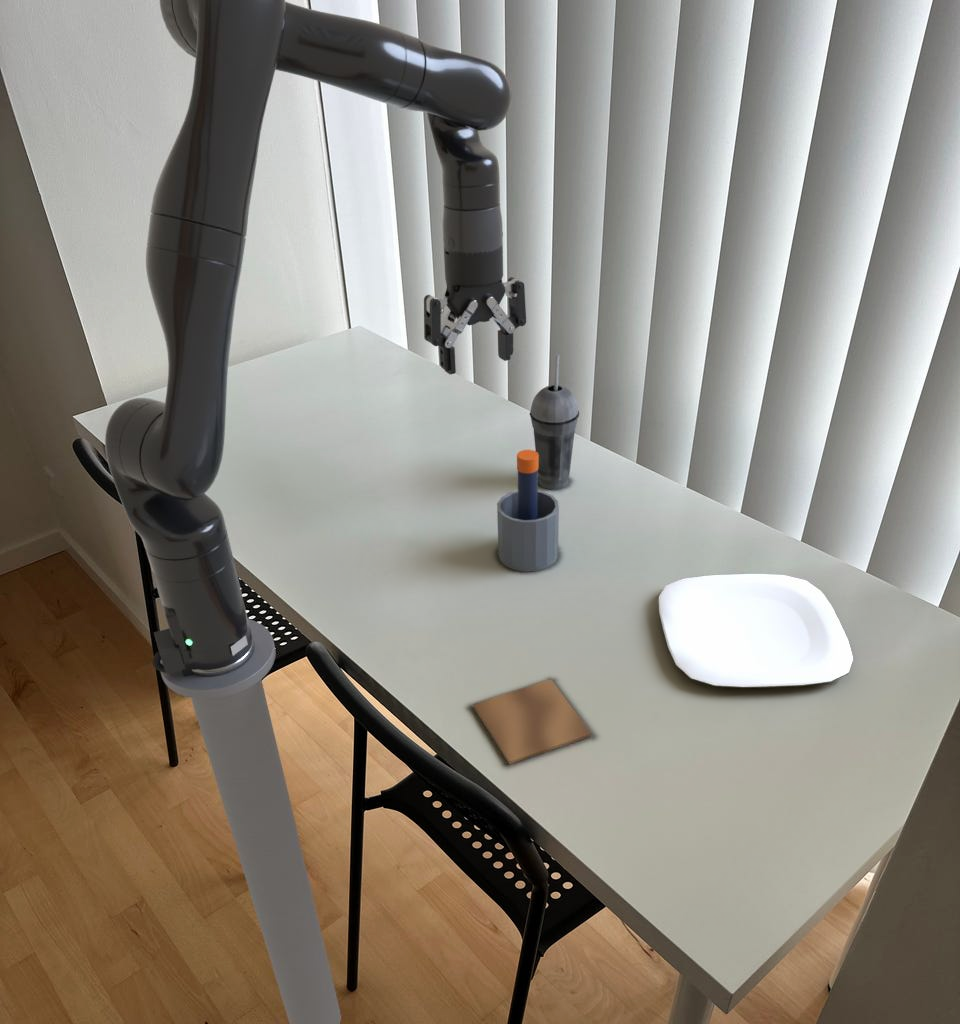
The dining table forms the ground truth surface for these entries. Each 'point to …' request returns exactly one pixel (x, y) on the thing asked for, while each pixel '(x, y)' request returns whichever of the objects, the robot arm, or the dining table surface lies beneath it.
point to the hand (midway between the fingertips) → (477, 365)
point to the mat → (531, 721)
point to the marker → (527, 484)
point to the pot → (528, 533)
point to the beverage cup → (554, 432)
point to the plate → (753, 631)
